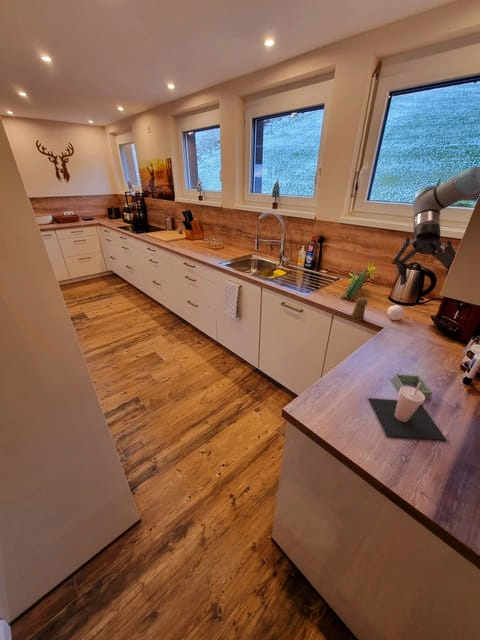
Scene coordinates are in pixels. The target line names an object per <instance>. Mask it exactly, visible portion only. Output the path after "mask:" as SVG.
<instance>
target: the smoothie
mask: <svg viewBox="0 0 480 640" xmlns="http://www.w3.org/2000/svg"><path fill="white" fill-rule="evenodd" d="M420 385H421V383H420V382H419V383H418V385H416V387H413V386H409V385H404V386H402V387H401V388H400V390H398V398H397V400H398V402H397V406H396V410H395V417H396V418H397V419H398V420H399V421H402V422H407V421H408V420H409V419H410V417H411V416H412V415H413V413H414V412H415V411H416V410H417V408H418V407H419V406H420V404H421V405H422V404H424V403H425V400H426V399H425V396H424V394H423V393H422V392H421V390H420V389H419V387H420Z"/></svg>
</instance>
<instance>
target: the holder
mask: <svg viewBox="0 0 480 640" xmlns="http://www.w3.org/2000/svg"><path fill="white" fill-rule="evenodd" d="M391 381H392V383H393V385H394V386H395V387H396V389H397V391H399V390H400V388H401V387H402V386H405V385H404V383H408V384H415V385H416V386H417V385H418V383H419V382H420V383H421V385H420V387H419V389H418V390H419V391H421V392H422V393H423V394H424V396H425V400H430V398H431V396H432V395H433V392H432V390H431V389H430V387H428V385H427V384H426V383H425V382H424V380H423V379H422V377H420V375H417V374H416V375H415V374H399V373H394V375H393V377H392V379H391Z"/></svg>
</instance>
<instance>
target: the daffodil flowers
mask: <svg viewBox="0 0 480 640" xmlns="http://www.w3.org/2000/svg"><path fill="white" fill-rule="evenodd" d="M367 261H368V263H367V264H368V265H367V269H365V270H364V271H363V272H361V273H360V274H359V275H357V270H356V269H355V268H354V269H353V271H352V273H353V274H352V273H351V272H348V274H349V275H350V276H351V277H352V278H348V279H347V280H346V281H347V282H350V284H349V285H348V287H347V288H346V290H345V291H344V294H343V295H342V296H341V299H343V298H344V299H345V300H348V301H350V300H351V299H352V297H353V296H354V295H355V296H354V297H353V299H352V302H353V301H354V300H355V299H356V298H357V296H358V294H359V293H360V291H361V289H362V287H364V286H365V287H367V286H368V285H367V284H366V283H370V281H369V280H367V281H365V280H366V279H367V278H369V277H370V279H373V280H375V277H374V275H373V274H376V273H377V267H376V266H374V264H375V261H373V262H372V263H371V264H370V263H369V259H368V260H367ZM367 273H368V274H367Z"/></svg>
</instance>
